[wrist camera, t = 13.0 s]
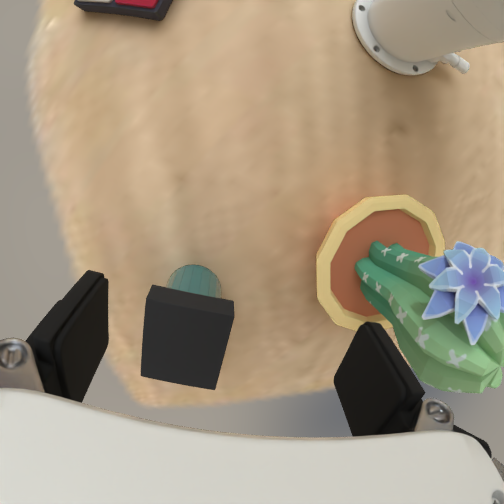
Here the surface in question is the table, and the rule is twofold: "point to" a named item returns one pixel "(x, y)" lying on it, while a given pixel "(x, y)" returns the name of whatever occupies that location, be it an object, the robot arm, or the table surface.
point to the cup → (195, 281)
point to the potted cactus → (416, 291)
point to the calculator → (127, 7)
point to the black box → (185, 337)
